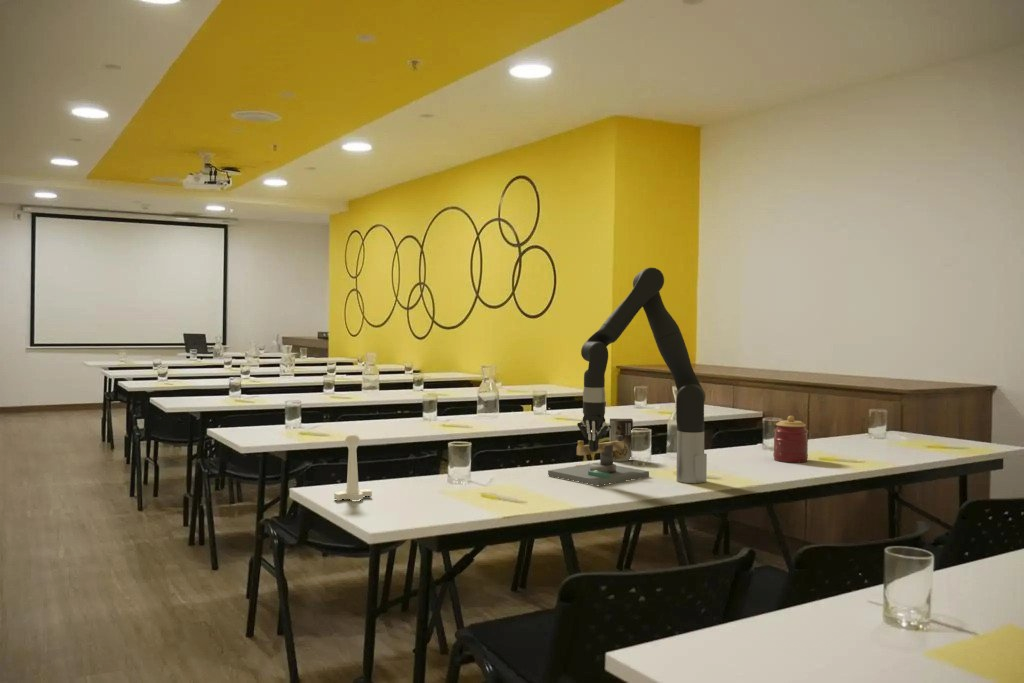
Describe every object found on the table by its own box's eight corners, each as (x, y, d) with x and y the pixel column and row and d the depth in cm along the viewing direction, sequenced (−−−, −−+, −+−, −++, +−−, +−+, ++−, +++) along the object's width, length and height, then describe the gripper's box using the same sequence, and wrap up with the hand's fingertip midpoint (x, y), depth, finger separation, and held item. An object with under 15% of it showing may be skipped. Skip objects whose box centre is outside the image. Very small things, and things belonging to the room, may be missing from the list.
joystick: (367, 495, 267) (367, 431, 266) (375, 500, 260) (375, 434, 260) (332, 499, 262) (332, 434, 261) (340, 503, 255) (340, 437, 254)
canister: (812, 463, 329) (813, 417, 328) (778, 463, 329) (779, 417, 328) (801, 457, 342) (802, 413, 341) (769, 457, 342) (769, 413, 341)
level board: (648, 476, 299) (649, 466, 299) (597, 486, 282) (597, 475, 282) (598, 467, 317) (599, 457, 317) (548, 476, 300) (548, 465, 300)
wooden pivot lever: (612, 465, 308) (612, 434, 308) (631, 469, 301) (631, 436, 301) (569, 473, 294) (569, 439, 294) (588, 476, 287) (588, 442, 287)
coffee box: (632, 459, 337) (632, 418, 337) (633, 461, 331) (633, 420, 330) (609, 458, 338) (609, 418, 338) (609, 461, 332) (609, 420, 331)
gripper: (616, 401, 287) (616, 452, 287) (585, 398, 296) (584, 448, 296) (603, 402, 281) (603, 454, 282) (571, 399, 290) (571, 450, 291)
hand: (593, 451), depth 289 cm, fingers closed
